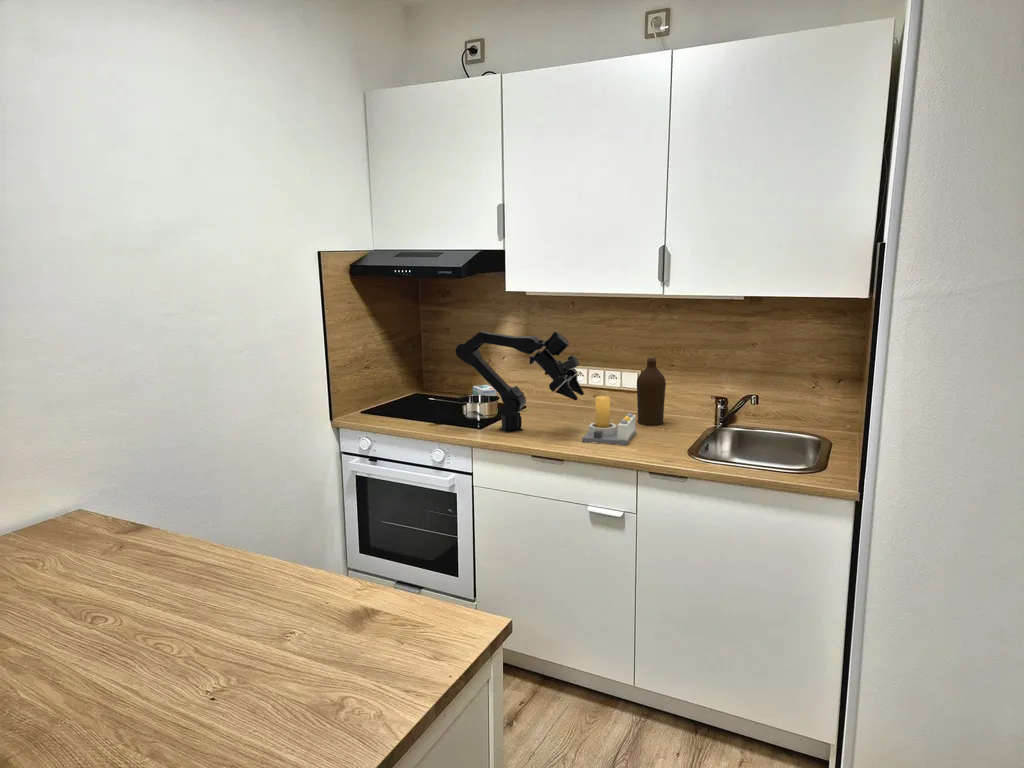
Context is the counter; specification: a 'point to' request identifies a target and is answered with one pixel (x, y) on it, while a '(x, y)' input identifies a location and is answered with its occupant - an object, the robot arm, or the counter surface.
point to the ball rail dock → (612, 432)
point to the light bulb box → (484, 390)
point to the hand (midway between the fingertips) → (580, 397)
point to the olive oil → (651, 394)
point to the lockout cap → (602, 412)
